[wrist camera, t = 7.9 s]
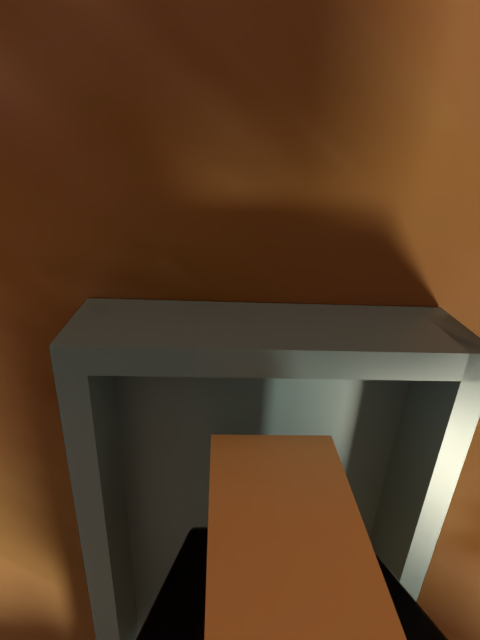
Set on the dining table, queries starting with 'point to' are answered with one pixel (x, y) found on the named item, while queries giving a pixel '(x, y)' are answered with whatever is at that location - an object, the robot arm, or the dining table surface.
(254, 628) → the orange-brown rectangular block
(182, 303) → the tray
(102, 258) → the dining table surface
